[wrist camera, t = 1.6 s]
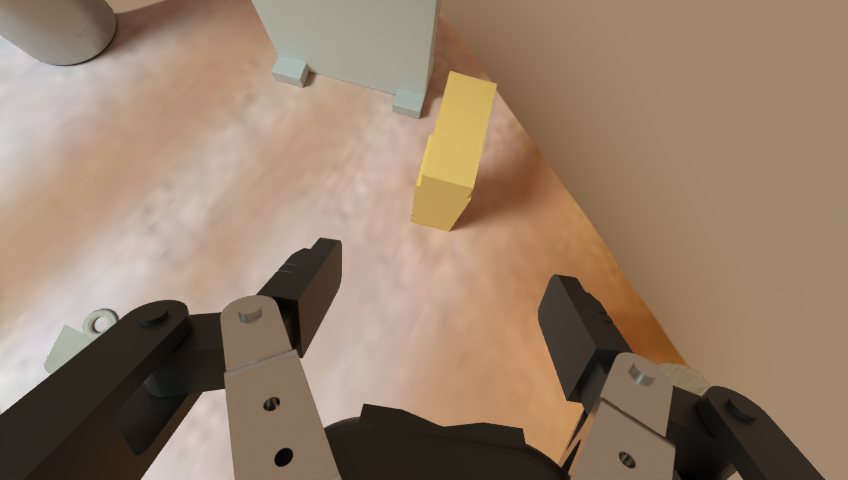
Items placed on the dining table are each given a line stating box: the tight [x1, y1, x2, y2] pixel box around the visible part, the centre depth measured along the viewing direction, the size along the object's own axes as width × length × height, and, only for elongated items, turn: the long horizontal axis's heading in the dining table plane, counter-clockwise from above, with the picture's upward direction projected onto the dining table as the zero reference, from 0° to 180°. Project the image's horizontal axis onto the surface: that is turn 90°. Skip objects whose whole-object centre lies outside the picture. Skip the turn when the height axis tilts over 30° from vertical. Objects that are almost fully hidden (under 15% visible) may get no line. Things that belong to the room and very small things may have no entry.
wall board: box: [252, 0, 441, 119], centre depth 28 cm, size 16×7×12 cm, turn 76°
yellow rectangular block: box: [411, 71, 497, 232], centre depth 27 cm, size 4×8×12 cm, turn 166°
